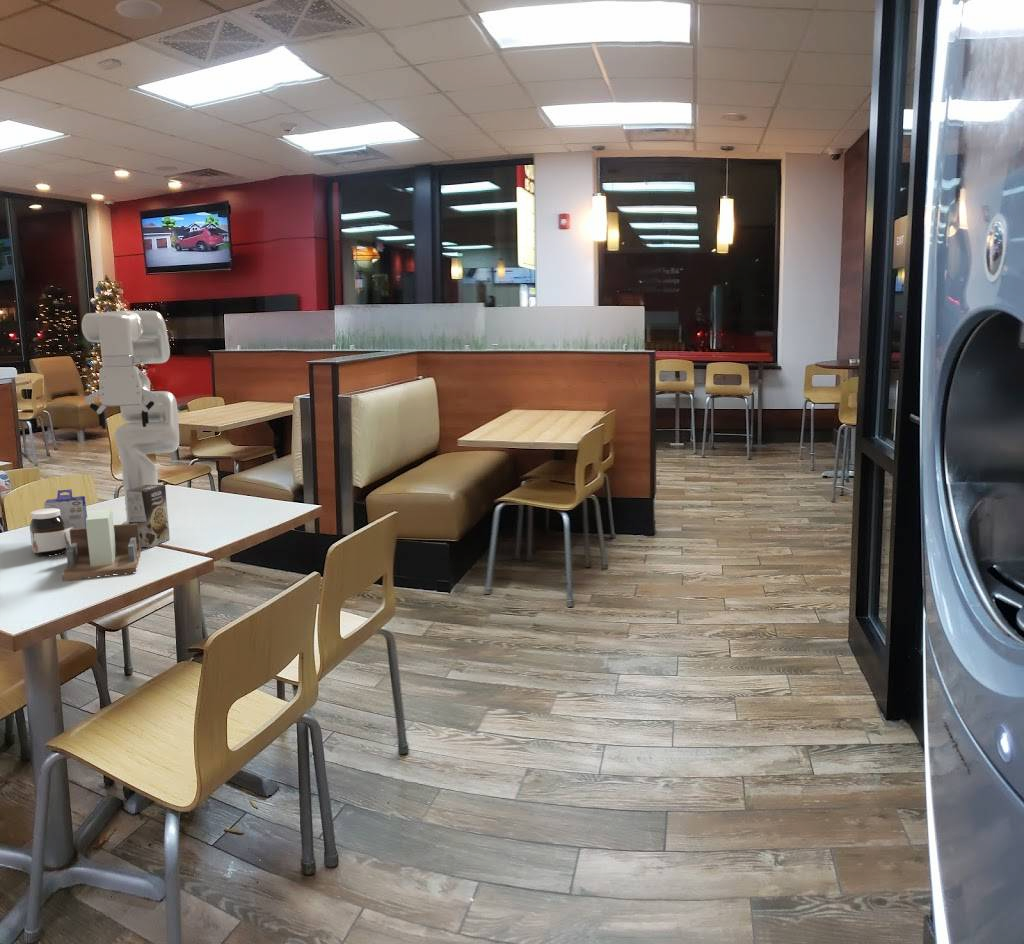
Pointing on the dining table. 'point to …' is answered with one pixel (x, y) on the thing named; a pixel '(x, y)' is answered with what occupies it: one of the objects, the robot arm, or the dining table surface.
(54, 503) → the ink cartridge box
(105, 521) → the pale green box
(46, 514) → the spread jar
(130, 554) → the shelf
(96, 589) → the dining table surface
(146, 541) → the coffee box
